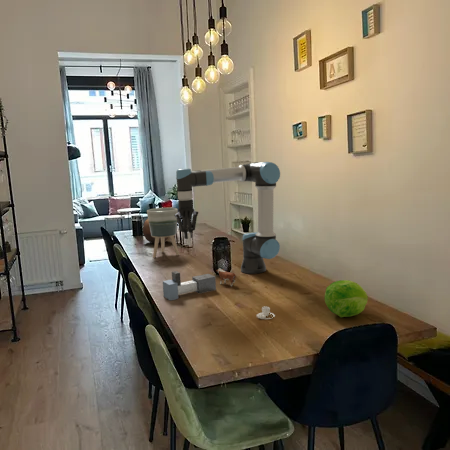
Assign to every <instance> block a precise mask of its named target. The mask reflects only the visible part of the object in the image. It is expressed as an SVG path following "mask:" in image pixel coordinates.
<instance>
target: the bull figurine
mask: <svg viewBox="0 0 450 450" xmlns="http://www.w3.org/2000/svg"><path fill="white" fill-rule="evenodd" d="M216 272H217V273H218V274H219V277H220V283H219V285H222V283H223V281H224V283H223V284H227V282H229V281H230V287H233V284H235V282H236V278H237V277H236V274H235V273H234V272H229V271H226V270H225V269H224V268H223V269H222V268H218V269H216ZM226 281H227V282H226Z"/></svg>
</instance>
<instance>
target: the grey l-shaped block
mask: <svg viewBox="0 0 450 450" xmlns="http://www.w3.org/2000/svg"><path fill="white" fill-rule="evenodd" d="M171 278H172V279H171V280H173V281H174V282H176V283H178V296H179V295H184V294H188V293H191V292H192V293H193V292H195V291H198V281H196V280H187V281H183V282H182V281H181V272H179V271H178V270H176V271H174V270H173V271H172V272H171Z"/></svg>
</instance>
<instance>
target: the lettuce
mask: <svg viewBox="0 0 450 450" xmlns="http://www.w3.org/2000/svg"><path fill="white" fill-rule="evenodd" d="M368 298H369V297H368V294H367V292H366V290H364V288H363V287H362V286H361V285H360V284H358V282H355V281H352V280H347V279H346V280H345V279H343V280H336V281H333V282H331V283H330V284H329V285H328V286H326V289H325V293H324V302H325V305H326V307H327V308H328V310H329V311H330V312H331V313H333V314H334V315H336V316H338V317H339V318H344V317H345V318H350V317H353V316H358V315H359V314H361V313H362V312H364V310H365V308H366V305H367V303H368Z"/></svg>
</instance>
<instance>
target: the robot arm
mask: <svg viewBox="0 0 450 450" xmlns="http://www.w3.org/2000/svg"><path fill="white" fill-rule="evenodd" d="M175 176H176V177H175V179H176V186H177V187H176V188H177V200H178V201H177V204H178V213H177V214H175V215H174V216H175V217H176V218H177V226H178V228H179V231H180V232H182V233H183V236H184V239H185V245H186V246H192V241H191V240H192V238H193V232H194V231H196V227H197V226H196V225H197V218H198V216H199V211H197V210H196V209H194V200H193V197H194V195H193V188H194V187H208V186H211V185H213V184H214V183H225V182H226V183H227V182H236V181H240V182H243V183H244V182H249V183H250V182H251V183H255V184H254V185H255V186H254V187H255V188H256V189H257V231H255V232H247V233H244V234H242V251H243V252H242V258H243V259H242V262H241V266H240V272H241V273H243V274H248V275H249V274H253V275H255V274H262V273H264V272H265V273H266V271H267V266H266V263H265V260H264V259H267V260H271V259H274V258H275V257H276V256H277V255H278V254H279V252H280V248H281V245H280V243H279V242H278V240H277V234H276V233H275V232H274V189H276V187H277V182H279V180H280V179H281V170H280V168H279V166H278V165H277V164H276V163H274V162H270V161H255V162H250V163H246V164H245V163H244V164H239V165H238V166H232V167H223V168H212V169H201V170H191V168H178V169H177V170H176V175H175Z"/></svg>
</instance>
